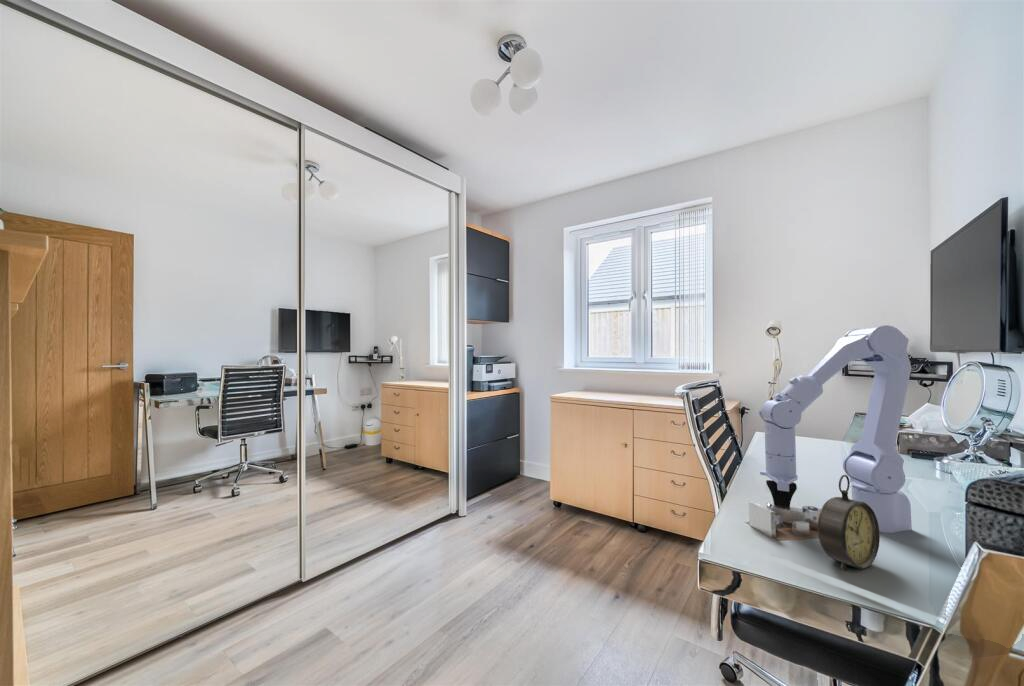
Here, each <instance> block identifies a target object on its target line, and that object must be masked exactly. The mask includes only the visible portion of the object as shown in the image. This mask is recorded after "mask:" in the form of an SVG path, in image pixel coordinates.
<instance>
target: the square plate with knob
mask: <svg viewBox="0 0 1024 686" xmlns="http://www.w3.org/2000/svg"><path fill="white" fill-rule="evenodd" d="M748 511H749V512H748V515H749V517H748V518H749V521H748V522H750V525H751V526H750V525H749V526H750V527H752V528H754V529H755V528H756V529H755V530H757V529H758V530H757V531H759V532H760V533H762V534H764V533H765V534H764V535H766V534H767V535H766V536H768V537H770V538H772V537H776V530H780V529H782V528H783V520H782V518H781V517H780V515H779V514H777V513H775V511H773V510H771V509H768V508H767V506H764V505H762V504H760V503H758V502H756V501H754V500H753V501H751V500H750V501H748ZM792 533H794V534H796V535H801V534H809V523H808V522H806V521H797V522H792Z"/></svg>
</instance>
